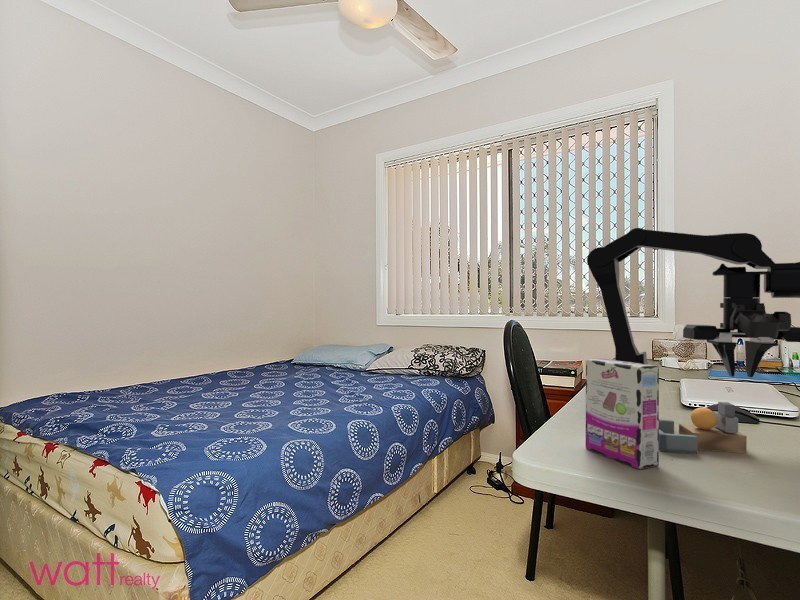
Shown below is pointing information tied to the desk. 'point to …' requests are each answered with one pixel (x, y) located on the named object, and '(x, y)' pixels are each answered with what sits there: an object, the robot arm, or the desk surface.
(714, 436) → the tan block
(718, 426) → the gray zigzag block
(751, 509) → the desk surface
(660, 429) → the tray
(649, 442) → the candy bar box
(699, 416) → the ball
